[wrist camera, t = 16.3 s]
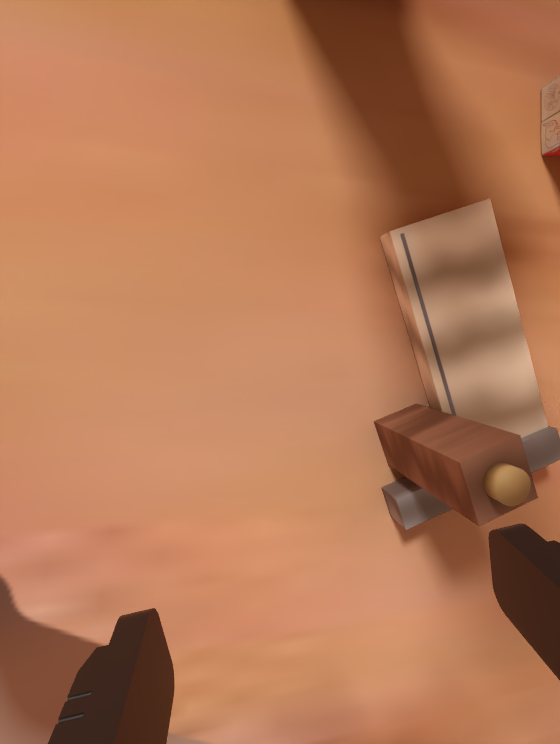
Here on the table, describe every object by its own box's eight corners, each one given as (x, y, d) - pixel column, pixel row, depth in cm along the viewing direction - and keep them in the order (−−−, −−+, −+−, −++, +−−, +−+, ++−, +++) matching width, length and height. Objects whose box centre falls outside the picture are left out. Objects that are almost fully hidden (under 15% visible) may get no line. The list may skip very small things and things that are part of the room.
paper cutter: (307, 260, 36) (317, 253, 33) (475, 205, 39) (497, 194, 36) (390, 515, 40) (405, 530, 37) (539, 449, 42) (564, 457, 39)
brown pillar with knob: (373, 421, 39) (472, 468, 25) (416, 403, 39) (535, 439, 25) (388, 465, 39) (492, 534, 25) (429, 446, 40) (552, 505, 26)
